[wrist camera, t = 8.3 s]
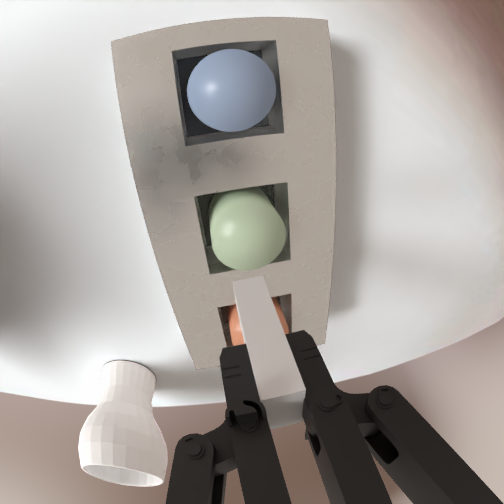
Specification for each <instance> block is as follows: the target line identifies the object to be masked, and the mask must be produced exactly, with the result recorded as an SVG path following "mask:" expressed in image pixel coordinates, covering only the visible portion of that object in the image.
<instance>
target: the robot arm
mask: <svg viewBox="0 0 504 504" xmlns="http://www.w3.org/2000/svg"><path fill="white" fill-rule="evenodd" d="M232 283H233V289H234V295H235V300H236V306H237V311H238V317H239V322H240V326H241V331H242V335H243V339H244V344H241V345H236V346H231V347H225V348H223V349H222V352H221V355H220V358H219V359H220V366H221V372H222V378H223V385H224V391H225V397H226V402H227V409H226V413H225V418H226V420H225V421H224V423H223V424H222V425H221V426H219V427H218V428H216V429H215V430H213V431H210V432H208V433H206V434H204V435H201V434H189V435H186V436H184V437H182V439H181V440H179V441H178V444H177V446H176V449H175V454H174V460H173V465H172V470H171V476H170V481H169V488H168V493H167V499H166V504H224V497H225V486H226V476H227V472H229V471H232V470H234V469H236V468H238V473H239V477H240V483H241V487H242V491H243V496H244V500H245V504H291V501H290V497H289V494H288V490H287V487H286V484H285V480H284V477H283V473H282V470H281V466H280V463H279V459H278V456H277V453H276V449H275V445H274V442H273V438H272V435H271V431H270V429H274V428H278V427H282V426H286V425H290V424H294V423H298V422H302V421H303V419H304V422H305V424H306V432H305V440H307V439H308V440H309V443H310V446H311V449H312V452H313V454H314V457H315V460H316V463H317V466H318V469H319V472H320V475H321V478H322V481H323V483H324V486H325V489H326V492H327V495H328V498H329V500H330V503H331V504H392V502H391V500H390V497H389V495H388V492H387V490H386V488H385V485H384V483H383V481H382V479H381V476H380V474H379V472H378V469H377V467H376V464H375V462H374V460H373V458H372V455H373V456H374V457H375V459H376V460H377V461H378V462H379V464H380V465H381V466H382V467H383V468H384V469H385V471H386V472H387V473H388V474H389V476H390V477H391V478H392V479H393V480H394V481H395V483H396V484H397V485H398V486H399V487H400V488H401V490H402V491H403V492H404V493H405V494H406V496H407V497H408V498H409V499H410V500H411V501H412V503H413V504H503V503H502V502H501V500H500V499H499V498H498V497H497V496H496V495H495V494H494V493H493V492H492V491H491V490H490V488H488V486H487V485H486V484H485V483H484V482H483V481H482V480H481V479H480V478H479V477H478V475H477V474H476V473H475V472H474V471H473V470H472V469H471V468H470V467H469V466H468V465H467V464H466V463H465V462H464V460H463V459H462V458H461V457H460V456H459V455H458V454H457V453H456V452H455V451H454V450H453V449H452V448H451V447H450V446H449V444H448V443H447V442H446V441H445V440H444V439H443V438H442V437H441V436H440V435H439V434H438V433H437V432H436V431H435V430H434V428H433V427H432V426H431V425H430V424H429V423H428V422H427V421H426V420H425V419H424V418H423V417H422V416H421V415H420V414H419V413H418V412H417V411H416V409H415V408H414V407H413V406H412V405H411V404H410V403H409V402H408V401H407V400H406V399H405V398H404V397H403V396H402V395H401V394H400V393H399V392H398V391H397V390H396V389H394V388H393V387H390V386H387V385H386V386H379V387H377V388H374V389H373V390H372V391H371V392H370V393H366V394H348V393H345V392H343V391H341V390H339V389H338V388H337V387H336V386H335V384H334V382H333V380H332V378H331V376H330V374H329V372H328V369H327V367H326V365H325V363H324V361H323V358H322V356H321V354H320V352H319V350H318V349H317V346H316V343H315V341H314V339H313V337H312V336H311V335H310V334H308V333H307V332H306V331H305V330H301V331H297V332H293V333H289V334H285V333H284V330H283V328H282V325H281V323H280V320H279V317H278V315H277V312H276V309H275V307H274V304H273V302H272V299H271V296H270V294H269V291H268V288H267V286H266V283H265V281H264V278H263V276H258V277H253V278H248V279H243V280H237V281H232ZM371 454H372V455H371Z"/></svg>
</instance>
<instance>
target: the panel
mask: <svg viewBox="0 0 504 504" xmlns="http://www.w3.org/2000/svg"><path fill="white" fill-rule="evenodd" d="M111 46H112V55H113V64H114V72H115V80H116V87H117V93H118V100H119V106H120V112H121V118H122V123H123V129H124V134H125V139H126V144H127V149H128V154H129V158H130V163H131V167H132V172H133V176H134V180H135V184H136V188H137V192H138V196H139V200H140V204H141V208H142V212H143V215H144V219H145V223H146V226H147V230H148V233H149V237H150V240H151V244H152V247H153V250H154V254H155V257H156V260H157V263H158V266H159V269H160V273H161V276H162V279H163V282H164V285H165V288H166V291H167V294H168V296H169V299H170V302H171V305H172V308H173V311H174V313H175V316H176V319H177V322H178V324H179V327H180V330H181V332H182V335H183V337H184V340H185V342H186V345H187V348H188V350H189V353H190V355H191V357H192V360H193V362H194V365H195V367H196V369H203V368H210V367H216V366H220V359H219V358H220V355H221V352H222V349H223V348H225V347H231V346H234V345H233V343H232V338H231V332H230V327H229V323H224V321H223V317H222V313H221V308H220V307H223V306H228V305H234V304H236V300H235V295H234V289H233V283H232V281H237V280H243V279H248V278H253V277H258V276H263V278H264V281H265V283H266V286H267V288H268V291H269V294H270V296H271V297H276V296H280V302H281V309H282V312H283V315H284V317H285V320H286V322H287V325H288V328H289V333H293V332H297V331H301V330H305V331H306V332H307V333H308V334H310V335H311V336H312V337H313V339H314V341H315V343H316V346H317V345H321V344H324V343H325V338H326V330H327V321H328V312H329V302H330V291H331V279H332V266H333V252H334V233H335V208H336V124H335V100H334V83H333V69H332V57H331V47H330V37H329V28H328V20H324V19H312V18H295V17H251V18H233V19H221V20H212V21H203V22H196V23H189V24H183V25H177V26H172V27H167V28H162V29H157V30H153V31H148V32H144V33H140V34H136V35H133V36H129V37H125V38H122V39H118V40H115V41H112V42H111ZM225 49H240V50H245V51H250V50H261V52H262V60H263V61H264V62H265V63H266V64H267V65H268V67H269V68H270V70H271V71H272V73H273V76H274V79H275V83H276V97H275V101H274V104H273V106H272V108H271V110H270V112H269V113H268V123H269V126H262V127H253V128H248V129H245V130H242V131H235V132H225V131H222V132H215V133H209V134H203V135H197V136H191V137H187V130H186V124H185V117H184V110H183V103H182V96H181V89H180V81H179V74H178V66H177V60H178V59H183V58H189V57H195V56H202V55H209V54H212V53H214V52H217V51H220V50H225ZM269 184H273V185H274V199H275V210H276V211H277V213H278V214H279V216H280V217H281V219H282V221H283V223H284V225H285V229H286V239H285V243H284V246H283V248H282V250H281V252H280V253H279V255H278V256H277V257H276V258H275V259H274V260H273V261H272V262H270V263H269V264H267V265H266V266H264V267H261V268H259V269H255V270H249V271H243V270H236V269H233V268H230V267H228V266H226V265H225V264H223V263H222V262H221V261H220V260H219V259H218V258H217V256H216V255H215V253H214V251H213V248H212V245H211V246H207V243H206V238H205V233H204V227H203V222H202V217H201V212H200V206H199V201H198V196H200V195H206V194H211V193H217V192H223V191H229V190H236V189H242V188H249V187H255V186H262V185H269Z"/></svg>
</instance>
